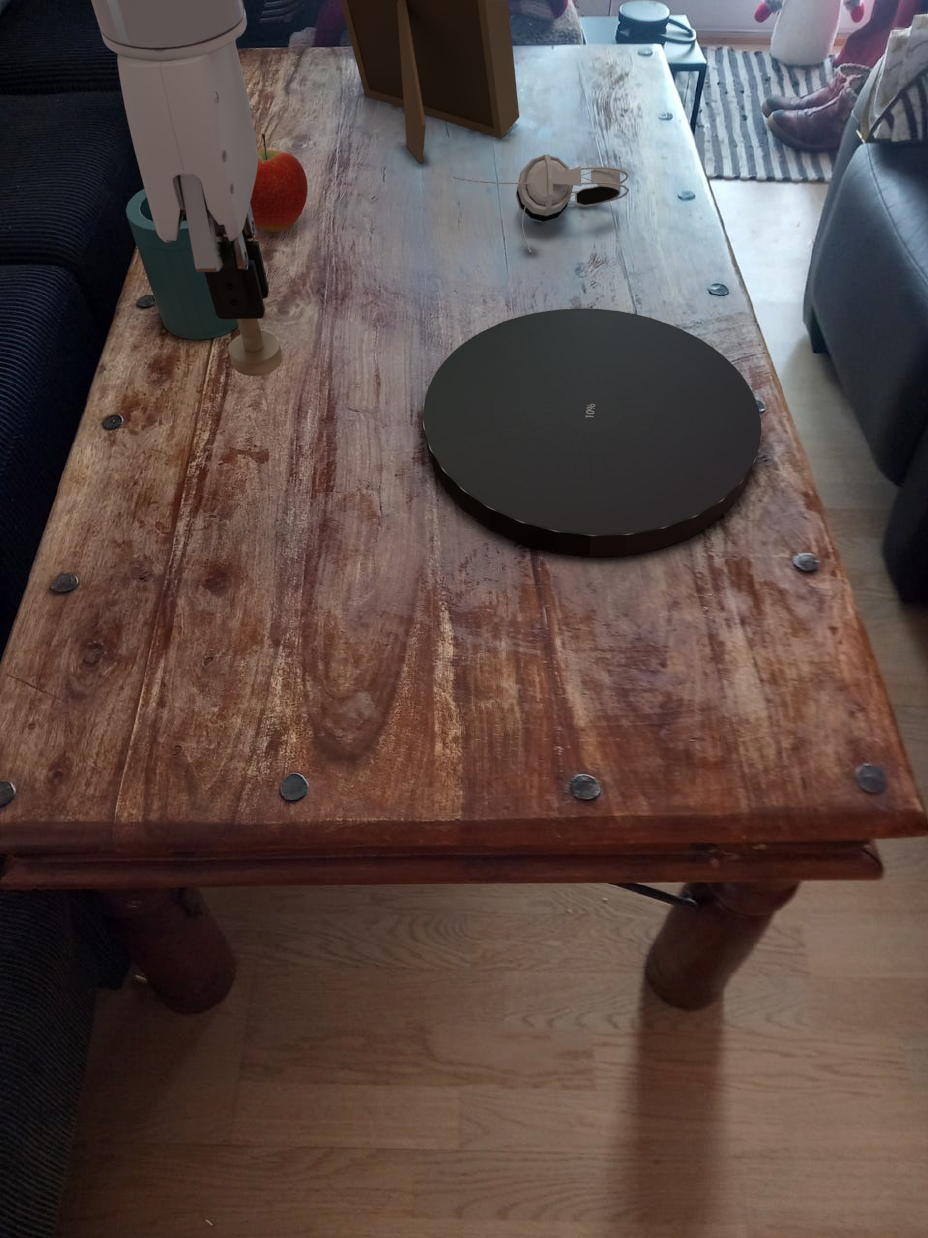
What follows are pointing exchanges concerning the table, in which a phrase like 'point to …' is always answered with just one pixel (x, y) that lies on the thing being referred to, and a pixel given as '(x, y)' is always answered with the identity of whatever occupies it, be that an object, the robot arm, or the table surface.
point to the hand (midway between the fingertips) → (243, 305)
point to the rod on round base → (254, 347)
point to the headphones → (561, 188)
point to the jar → (175, 277)
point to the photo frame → (437, 62)
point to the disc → (591, 431)
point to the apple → (278, 190)
